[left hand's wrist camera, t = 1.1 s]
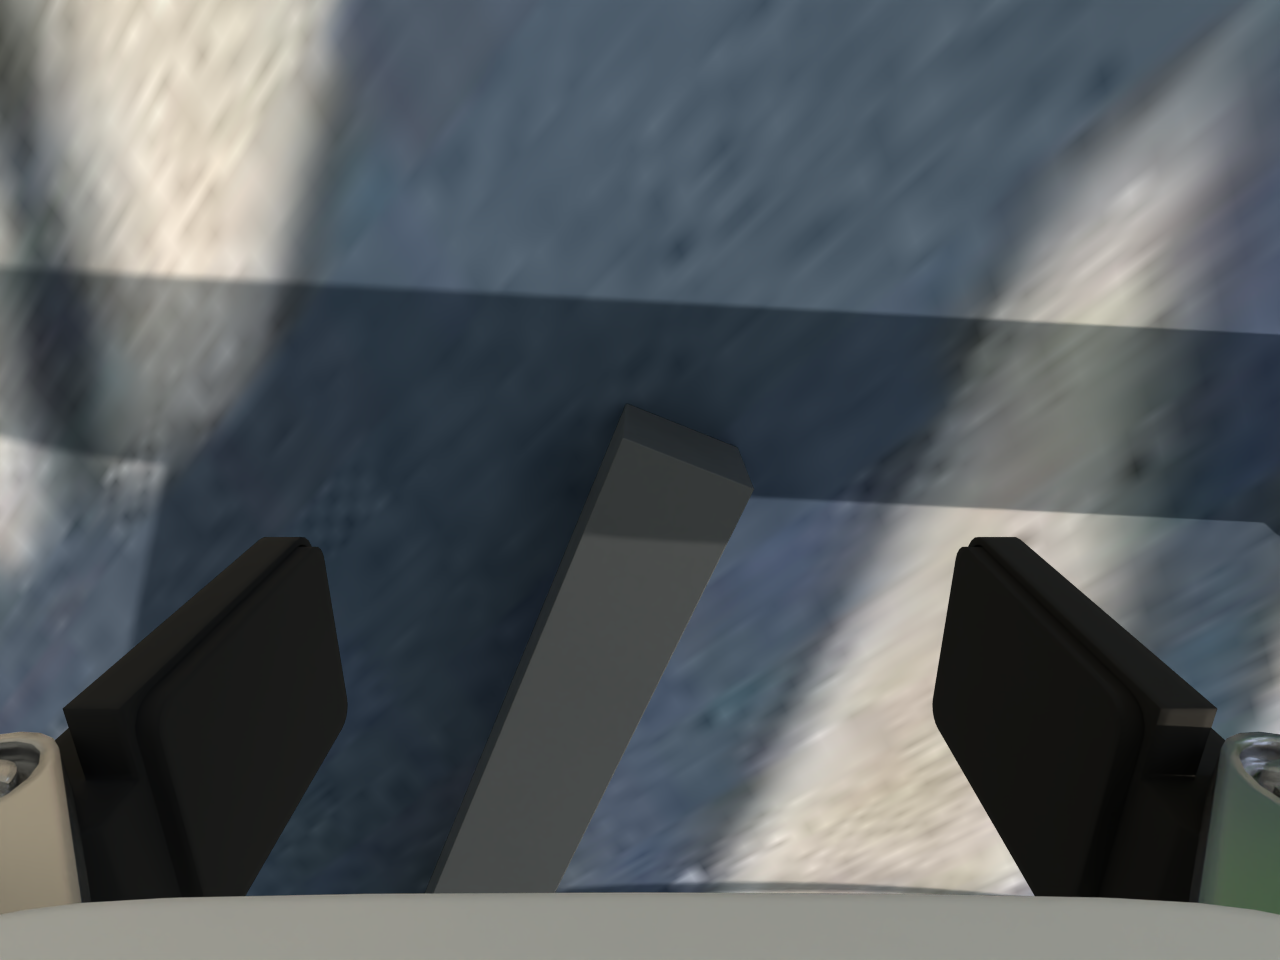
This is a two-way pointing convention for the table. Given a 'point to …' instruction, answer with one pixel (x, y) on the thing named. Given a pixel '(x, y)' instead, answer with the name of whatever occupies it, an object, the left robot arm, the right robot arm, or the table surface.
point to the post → (595, 653)
